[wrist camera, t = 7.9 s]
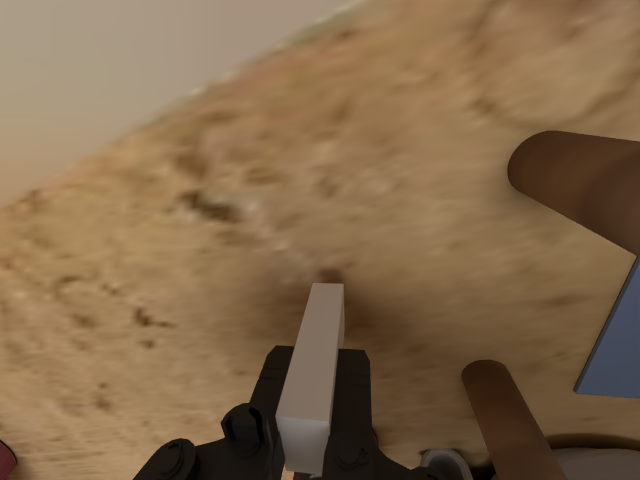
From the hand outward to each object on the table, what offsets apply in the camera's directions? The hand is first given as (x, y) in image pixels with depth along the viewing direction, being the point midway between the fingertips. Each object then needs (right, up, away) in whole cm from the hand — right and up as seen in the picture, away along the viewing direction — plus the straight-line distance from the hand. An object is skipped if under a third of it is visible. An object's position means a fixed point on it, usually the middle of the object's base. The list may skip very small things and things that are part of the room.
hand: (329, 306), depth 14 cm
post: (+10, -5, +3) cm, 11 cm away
